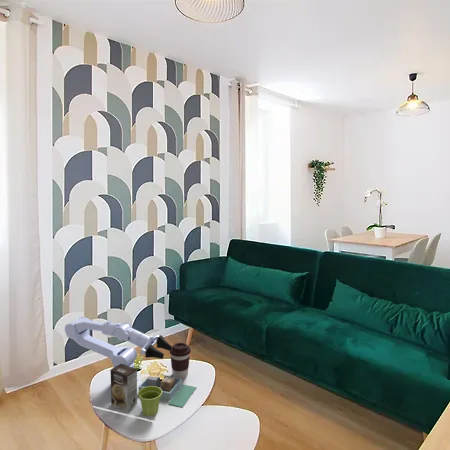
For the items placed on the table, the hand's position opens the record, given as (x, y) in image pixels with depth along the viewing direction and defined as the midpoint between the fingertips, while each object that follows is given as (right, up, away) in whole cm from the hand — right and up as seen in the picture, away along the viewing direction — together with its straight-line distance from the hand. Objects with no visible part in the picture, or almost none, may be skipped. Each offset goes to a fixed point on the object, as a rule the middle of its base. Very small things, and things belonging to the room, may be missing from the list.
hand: (167, 352), depth 162 cm
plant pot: (-5, -21, -11) cm, 24 cm away
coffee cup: (+4, -17, +17) cm, 24 cm away
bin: (-4, -18, +4) cm, 19 cm away
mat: (+7, -19, -1) cm, 20 cm away
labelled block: (0, -18, +3) cm, 18 cm away
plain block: (-7, -18, +5) cm, 20 cm away
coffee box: (-17, -20, -7) cm, 27 cm away
